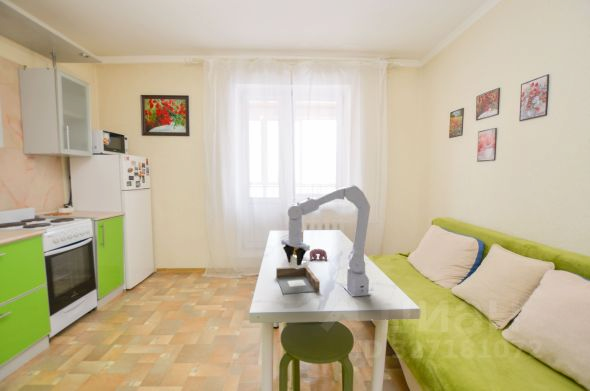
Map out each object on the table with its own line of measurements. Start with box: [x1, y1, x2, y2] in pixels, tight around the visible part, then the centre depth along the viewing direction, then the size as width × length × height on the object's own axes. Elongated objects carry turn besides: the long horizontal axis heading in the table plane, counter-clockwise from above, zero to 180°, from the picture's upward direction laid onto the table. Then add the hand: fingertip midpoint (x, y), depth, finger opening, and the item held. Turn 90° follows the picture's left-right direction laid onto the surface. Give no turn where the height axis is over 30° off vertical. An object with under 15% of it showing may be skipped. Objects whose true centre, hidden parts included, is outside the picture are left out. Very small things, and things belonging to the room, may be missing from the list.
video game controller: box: [309, 248, 328, 261], centre depth 147 cm, size 10×5×7 cm, turn 92°
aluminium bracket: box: [289, 255, 307, 269], centre depth 114 cm, size 6×4×5 cm
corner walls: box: [275, 265, 320, 293], centre depth 113 cm, size 18×15×4 cm
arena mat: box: [276, 276, 316, 295], centre depth 114 cm, size 18×15×1 cm
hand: (294, 263), depth 112 cm, fingers closed on aluminium bracket, 4 cm apart
